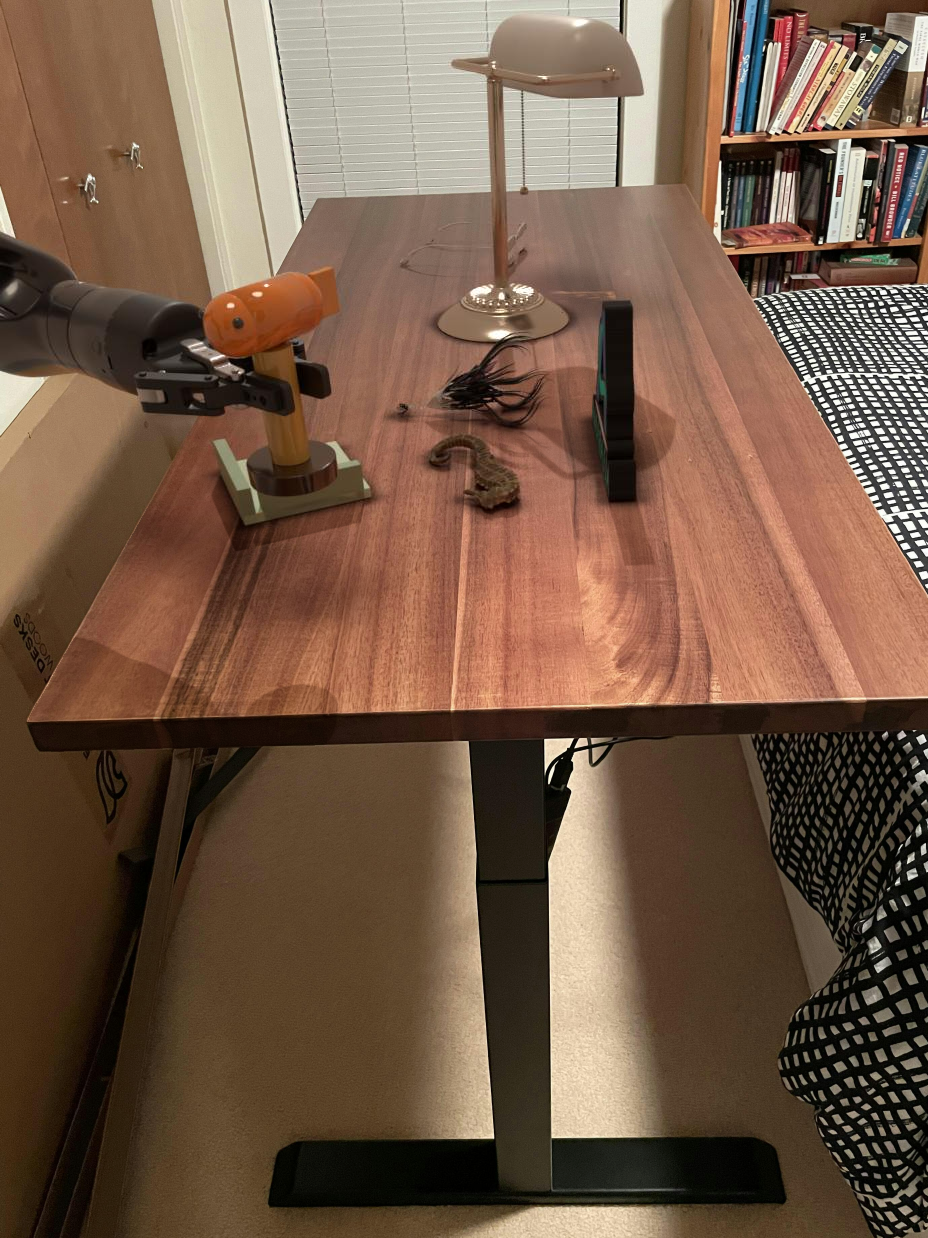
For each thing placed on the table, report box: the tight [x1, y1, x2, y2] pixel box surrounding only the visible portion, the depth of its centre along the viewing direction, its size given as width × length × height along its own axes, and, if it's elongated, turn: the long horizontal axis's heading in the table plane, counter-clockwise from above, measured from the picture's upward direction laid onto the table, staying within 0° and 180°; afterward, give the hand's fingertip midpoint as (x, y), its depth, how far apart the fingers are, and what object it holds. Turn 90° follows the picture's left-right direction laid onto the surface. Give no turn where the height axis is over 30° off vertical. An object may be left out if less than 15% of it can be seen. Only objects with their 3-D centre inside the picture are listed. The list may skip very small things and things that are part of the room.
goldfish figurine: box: [198, 266, 340, 497], centre depth 67 cm, size 11×6×14 cm, turn 144°
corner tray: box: [212, 438, 372, 526], centre depth 93 cm, size 12×12×4 cm
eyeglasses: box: [399, 221, 527, 266], centre depth 157 cm, size 15×18×4 cm
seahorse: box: [427, 433, 521, 510], centre depth 93 cm, size 6×15×2 cm, turn 24°
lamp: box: [436, 12, 645, 343], centre depth 122 cm, size 26×24×34 cm
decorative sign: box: [591, 299, 637, 501], centre depth 92 cm, size 19×2×15 cm, turn 1°
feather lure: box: [396, 331, 556, 428], centre depth 103 cm, size 9×18×8 cm, turn 83°
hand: (307, 391), depth 65 cm, fingers closed on goldfish figurine, 3 cm apart
